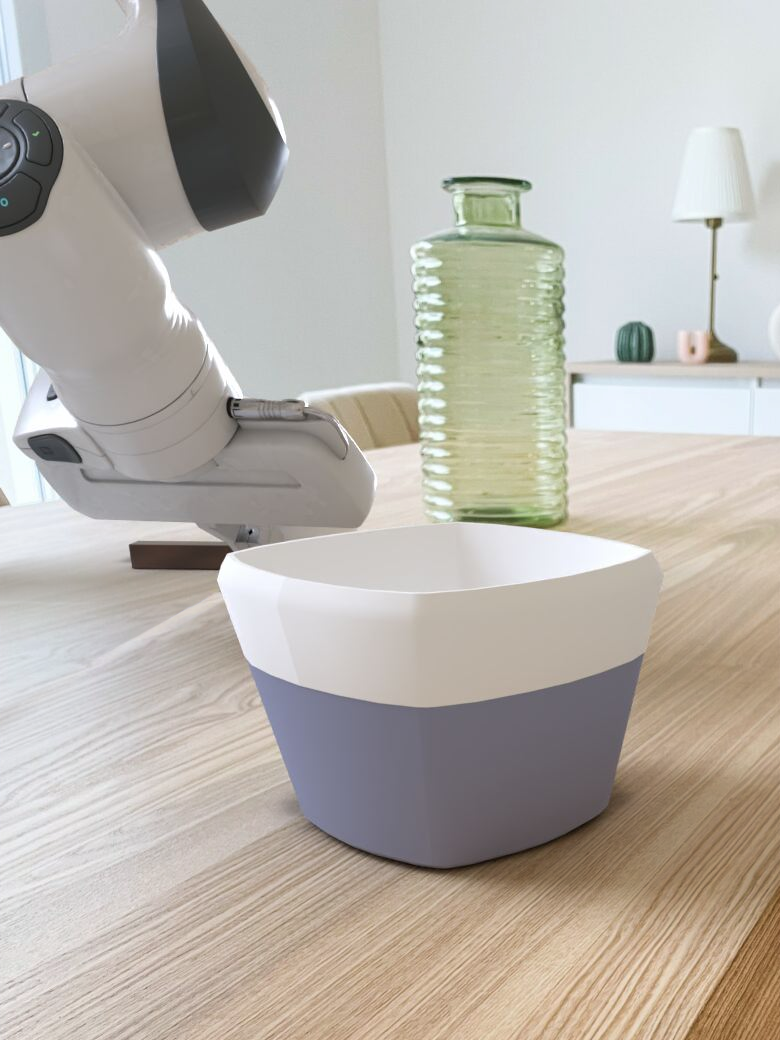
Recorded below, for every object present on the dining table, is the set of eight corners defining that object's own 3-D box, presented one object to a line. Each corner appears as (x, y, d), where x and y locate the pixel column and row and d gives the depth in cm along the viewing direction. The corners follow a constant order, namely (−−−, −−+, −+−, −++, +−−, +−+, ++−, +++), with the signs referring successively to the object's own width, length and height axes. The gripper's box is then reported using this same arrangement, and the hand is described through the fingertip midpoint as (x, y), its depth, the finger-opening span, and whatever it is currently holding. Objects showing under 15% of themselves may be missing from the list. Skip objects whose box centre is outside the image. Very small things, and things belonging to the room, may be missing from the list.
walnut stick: (131, 568, 110) (128, 544, 109) (141, 564, 112) (137, 540, 111) (271, 569, 109) (269, 545, 108) (279, 565, 111) (276, 542, 110)
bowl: (708, 810, 56) (713, 550, 52) (431, 922, 46) (409, 608, 42) (474, 738, 66) (462, 513, 62) (200, 818, 55) (162, 554, 51)
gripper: (340, 358, 73) (418, 514, 86) (22, 356, 77) (141, 505, 90) (312, 448, 71) (396, 594, 83) (-14, 441, 75) (113, 581, 88)
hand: (262, 548), depth 87 cm, fingers closed, pressing on beverage can
